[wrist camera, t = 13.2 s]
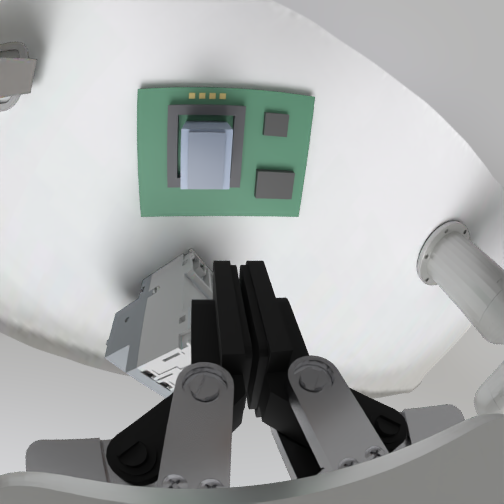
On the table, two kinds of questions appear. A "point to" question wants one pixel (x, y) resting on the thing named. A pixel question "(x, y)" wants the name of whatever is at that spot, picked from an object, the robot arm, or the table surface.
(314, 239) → the table surface
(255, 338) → the robot arm
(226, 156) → the plug
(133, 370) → the circuit breaker
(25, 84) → the network device
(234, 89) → the board
